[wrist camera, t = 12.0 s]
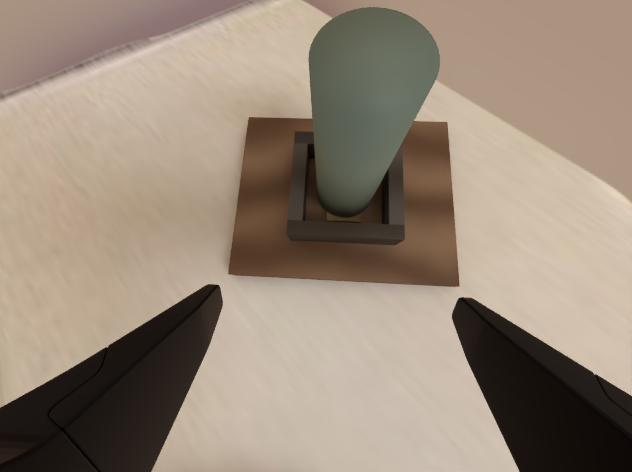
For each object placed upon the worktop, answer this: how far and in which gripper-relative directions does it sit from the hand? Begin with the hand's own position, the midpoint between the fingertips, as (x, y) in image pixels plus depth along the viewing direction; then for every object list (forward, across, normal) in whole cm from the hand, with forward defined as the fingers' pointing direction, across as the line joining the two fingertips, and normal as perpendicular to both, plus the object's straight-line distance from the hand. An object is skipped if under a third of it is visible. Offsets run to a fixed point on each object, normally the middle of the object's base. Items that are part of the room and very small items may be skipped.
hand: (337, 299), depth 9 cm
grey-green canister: (+14, -1, 0) cm, 14 cm away
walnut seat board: (+16, -1, +1) cm, 16 cm away
